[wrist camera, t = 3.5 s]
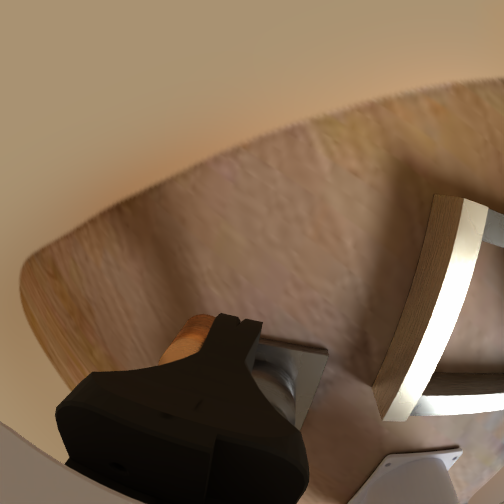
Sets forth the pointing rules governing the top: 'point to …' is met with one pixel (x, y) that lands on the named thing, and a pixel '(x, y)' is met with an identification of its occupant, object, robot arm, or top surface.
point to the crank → (193, 342)
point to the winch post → (289, 376)
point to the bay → (439, 320)
